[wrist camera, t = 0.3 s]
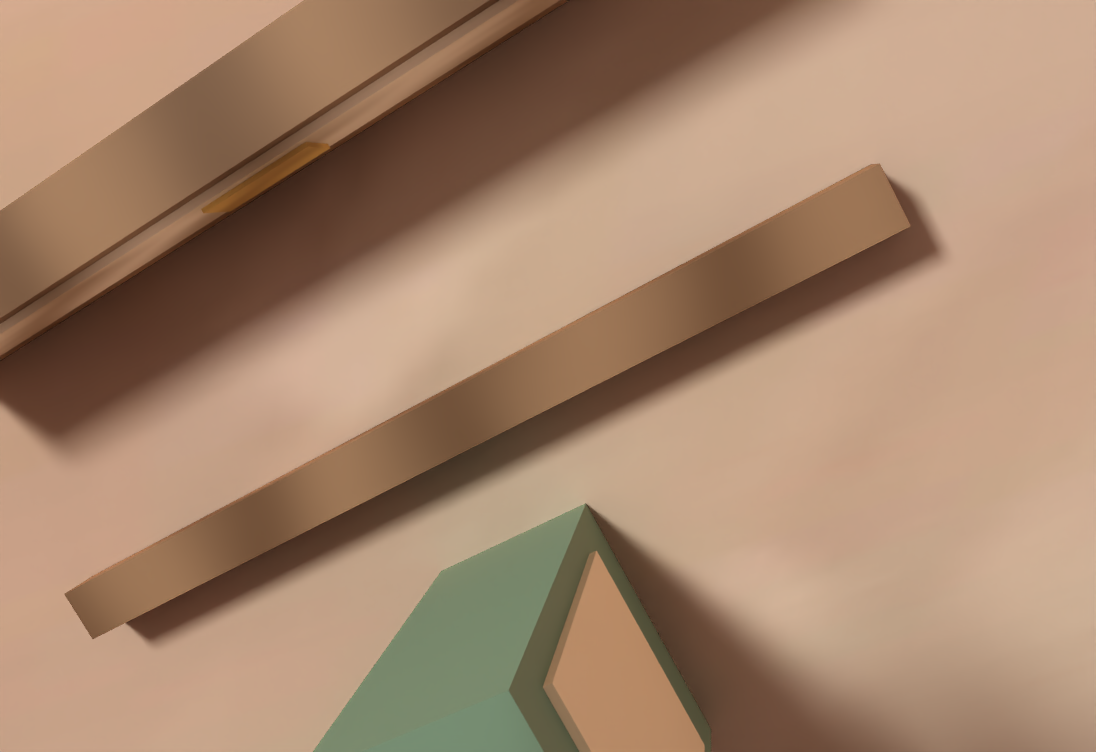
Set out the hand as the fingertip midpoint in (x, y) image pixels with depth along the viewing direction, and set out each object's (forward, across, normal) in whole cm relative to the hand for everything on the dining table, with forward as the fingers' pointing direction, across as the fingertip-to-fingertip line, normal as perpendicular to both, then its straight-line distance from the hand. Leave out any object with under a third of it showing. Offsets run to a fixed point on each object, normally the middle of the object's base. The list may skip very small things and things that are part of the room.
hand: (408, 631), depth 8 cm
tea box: (+13, -1, +11) cm, 17 cm away
